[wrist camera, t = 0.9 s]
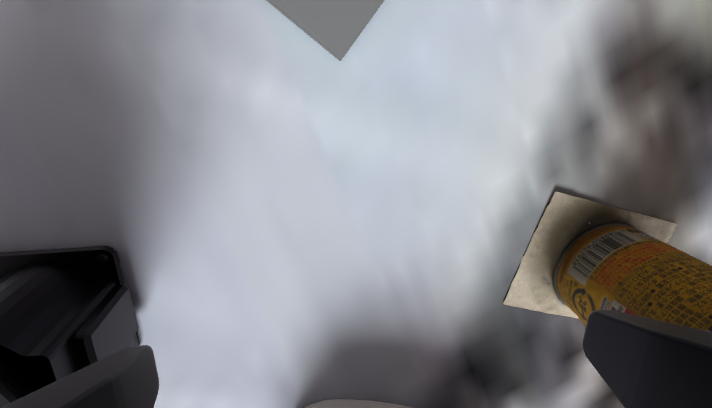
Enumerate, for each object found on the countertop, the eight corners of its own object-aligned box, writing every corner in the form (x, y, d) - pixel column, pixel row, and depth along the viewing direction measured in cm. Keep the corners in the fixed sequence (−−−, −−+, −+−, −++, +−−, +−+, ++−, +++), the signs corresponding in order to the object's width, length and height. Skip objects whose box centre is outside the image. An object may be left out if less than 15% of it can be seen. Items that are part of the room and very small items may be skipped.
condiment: (617, 325, 26) (861, 527, 15) (501, 302, 24) (676, 510, 13) (674, 222, 24) (1009, 363, 12) (551, 189, 22) (811, 318, 11)
